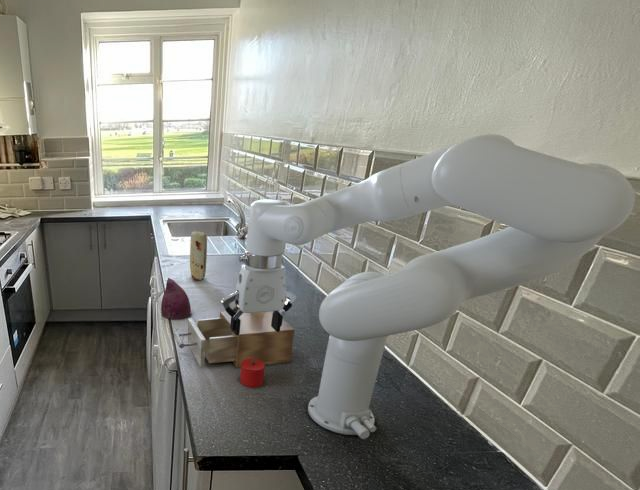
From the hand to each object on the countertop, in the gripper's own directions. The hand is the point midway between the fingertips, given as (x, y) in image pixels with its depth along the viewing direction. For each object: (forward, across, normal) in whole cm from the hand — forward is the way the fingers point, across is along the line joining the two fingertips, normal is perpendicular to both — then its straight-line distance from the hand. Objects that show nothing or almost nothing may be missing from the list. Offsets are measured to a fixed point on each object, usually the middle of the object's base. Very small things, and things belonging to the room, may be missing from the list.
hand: (255, 330), depth 93 cm
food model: (+14, +8, +78) cm, 79 cm away
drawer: (+13, -6, +14) cm, 20 cm away
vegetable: (+14, -9, +44) cm, 47 cm away
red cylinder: (+14, 0, 0) cm, 14 cm away
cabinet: (+14, +6, +14) cm, 20 cm away
